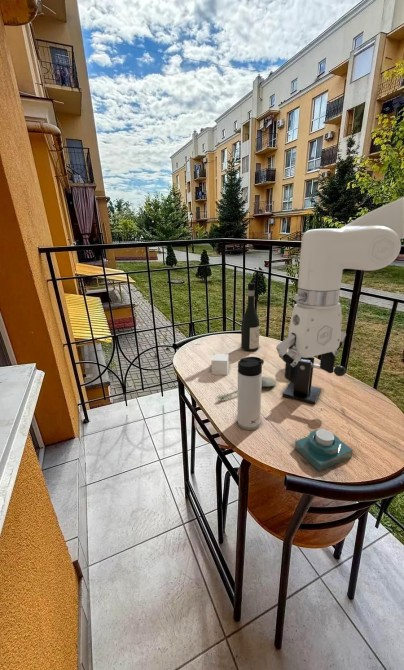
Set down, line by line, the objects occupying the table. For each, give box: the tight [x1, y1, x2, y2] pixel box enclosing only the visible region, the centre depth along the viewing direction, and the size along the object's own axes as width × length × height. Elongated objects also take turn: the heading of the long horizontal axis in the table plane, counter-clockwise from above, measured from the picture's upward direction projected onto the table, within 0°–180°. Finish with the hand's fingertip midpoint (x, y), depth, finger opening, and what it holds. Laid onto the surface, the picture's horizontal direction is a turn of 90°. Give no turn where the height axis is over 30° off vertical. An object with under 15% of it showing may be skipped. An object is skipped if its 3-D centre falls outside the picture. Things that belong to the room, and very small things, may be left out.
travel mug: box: [237, 356, 265, 431], centre depth 76 cm, size 6×7×20 cm
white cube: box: [210, 353, 230, 376], centre depth 108 cm, size 6×6×6 cm
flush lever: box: [301, 359, 347, 377], centre depth 85 cm, size 13×3×3 cm, turn 58°
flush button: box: [315, 428, 335, 446], centre depth 66 cm, size 4×4×2 cm
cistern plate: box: [294, 429, 354, 472], centre depth 67 cm, size 10×8×4 cm
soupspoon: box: [218, 376, 276, 402], centre depth 94 cm, size 22×3×7 cm
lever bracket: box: [282, 356, 322, 406], centre depth 90 cm, size 10×9×13 cm
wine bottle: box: [240, 282, 261, 352], centre depth 124 cm, size 8×8×30 cm
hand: (308, 375), depth 60 cm, fingers open, 9 cm apart
